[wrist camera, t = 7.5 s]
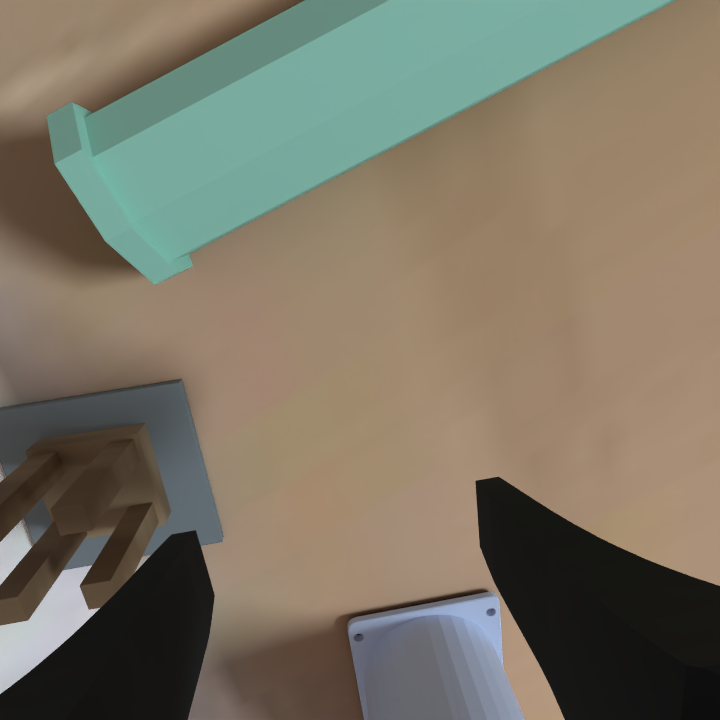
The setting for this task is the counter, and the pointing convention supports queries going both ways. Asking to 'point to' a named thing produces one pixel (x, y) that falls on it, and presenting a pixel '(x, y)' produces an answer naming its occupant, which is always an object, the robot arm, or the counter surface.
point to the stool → (82, 512)
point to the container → (300, 110)
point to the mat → (112, 410)
